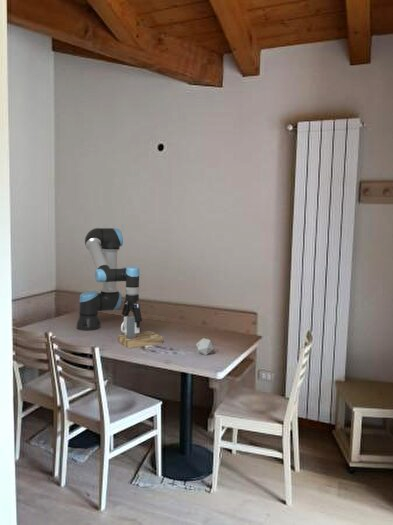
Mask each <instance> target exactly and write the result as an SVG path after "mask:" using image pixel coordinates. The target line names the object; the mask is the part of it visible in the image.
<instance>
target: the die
mask: <svg viewBox="0 0 393 525" xmlns="http://www.w3.org/2000/svg"><path fill="white" fill-rule="evenodd" d="M195 345H196V348H197V352H198V353H199V354H200V355H204V356H207V355H208V354H209V353H211V352H212V351H213V350H214V347H213V345H212V341H211V340H210V339H208V338H204V337H203V338H202V339H200V340H199V341H198V342H196V344H195Z"/></svg>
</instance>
